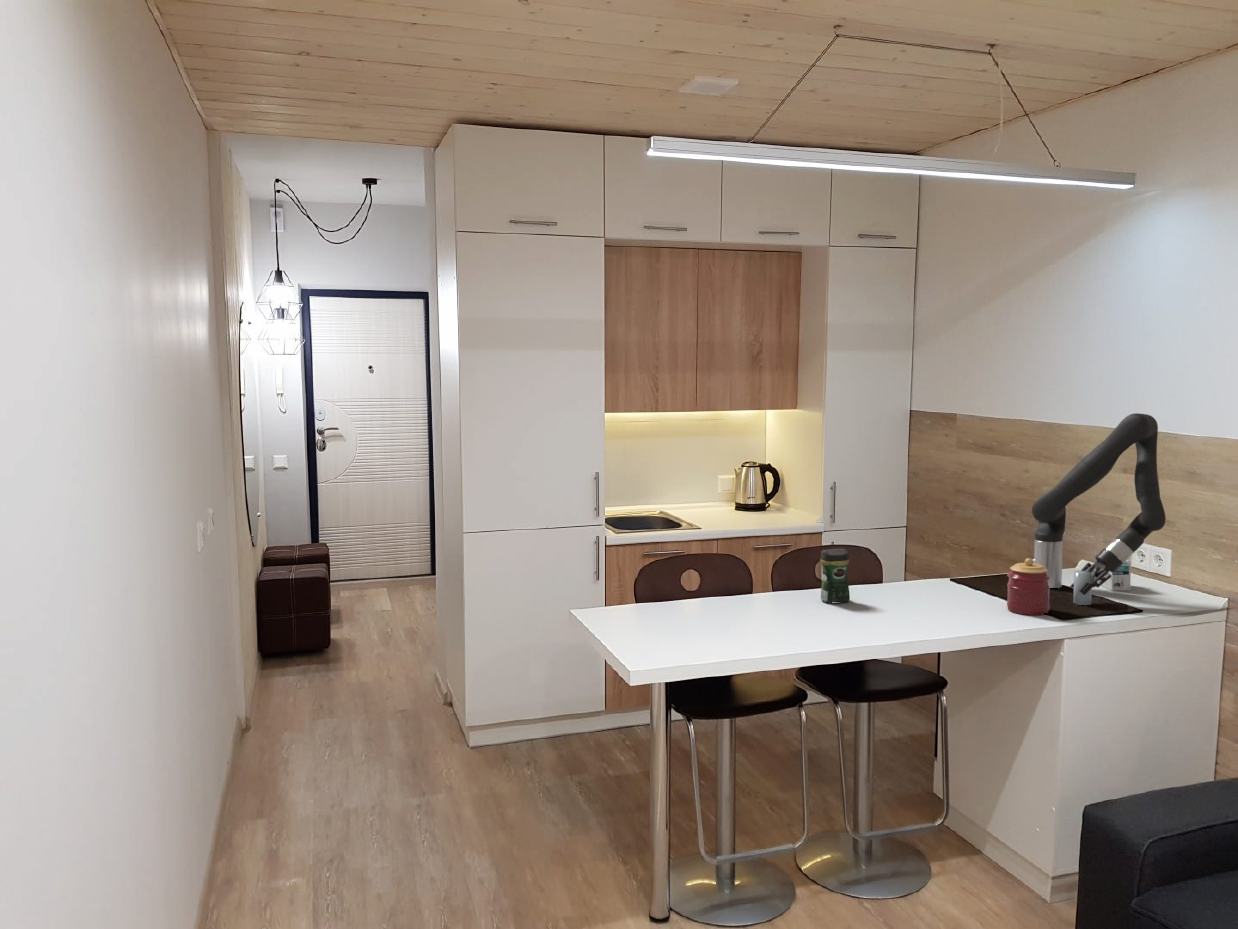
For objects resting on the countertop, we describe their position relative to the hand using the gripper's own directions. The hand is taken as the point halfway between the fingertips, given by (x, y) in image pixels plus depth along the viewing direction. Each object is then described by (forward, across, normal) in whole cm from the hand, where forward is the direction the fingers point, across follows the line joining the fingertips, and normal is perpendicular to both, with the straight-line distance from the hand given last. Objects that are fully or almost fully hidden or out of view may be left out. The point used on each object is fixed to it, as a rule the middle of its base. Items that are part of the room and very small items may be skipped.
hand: (1077, 590), depth 314 cm
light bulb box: (-13, -23, +20) cm, 33 cm away
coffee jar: (+60, -8, -53) cm, 80 cm away
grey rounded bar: (+2, 0, +5) cm, 5 cm away
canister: (+17, +8, -10) cm, 21 cm away
